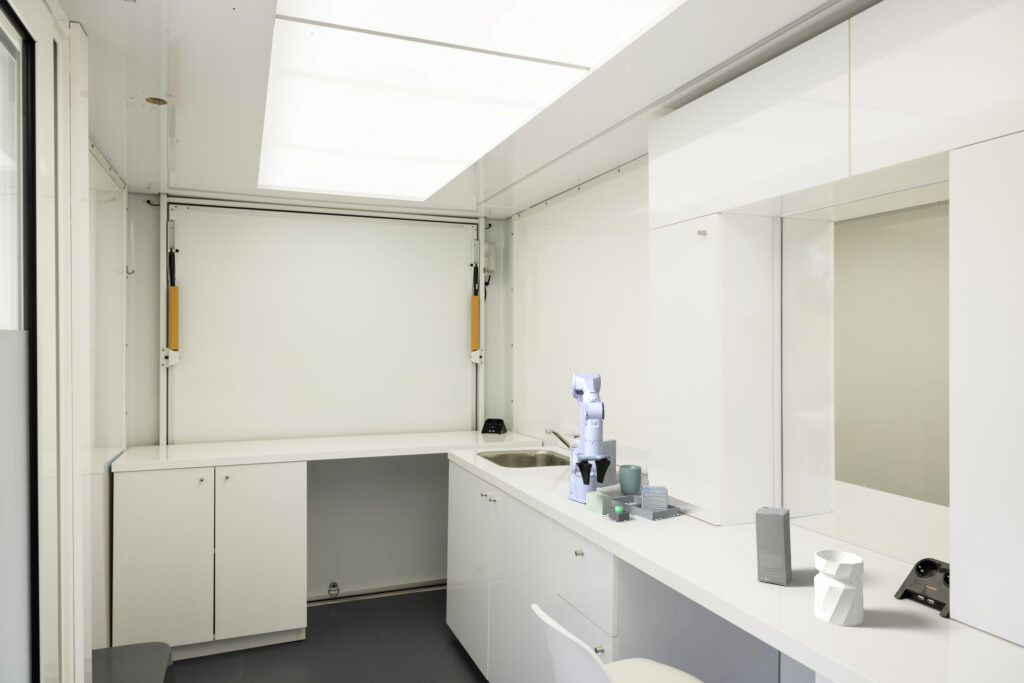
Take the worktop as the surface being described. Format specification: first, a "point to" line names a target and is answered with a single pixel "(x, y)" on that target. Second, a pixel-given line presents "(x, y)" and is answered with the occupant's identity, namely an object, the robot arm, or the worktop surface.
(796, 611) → the worktop surface
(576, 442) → the supplement box
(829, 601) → the white faceted vase
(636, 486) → the cup
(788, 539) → the skincare box
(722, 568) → the worktop surface
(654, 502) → the medicine box
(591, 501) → the carton
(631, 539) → the worktop surface
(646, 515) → the grey divided tray
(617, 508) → the button
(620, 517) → the button housing
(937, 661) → the worktop surface
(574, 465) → the robot arm
